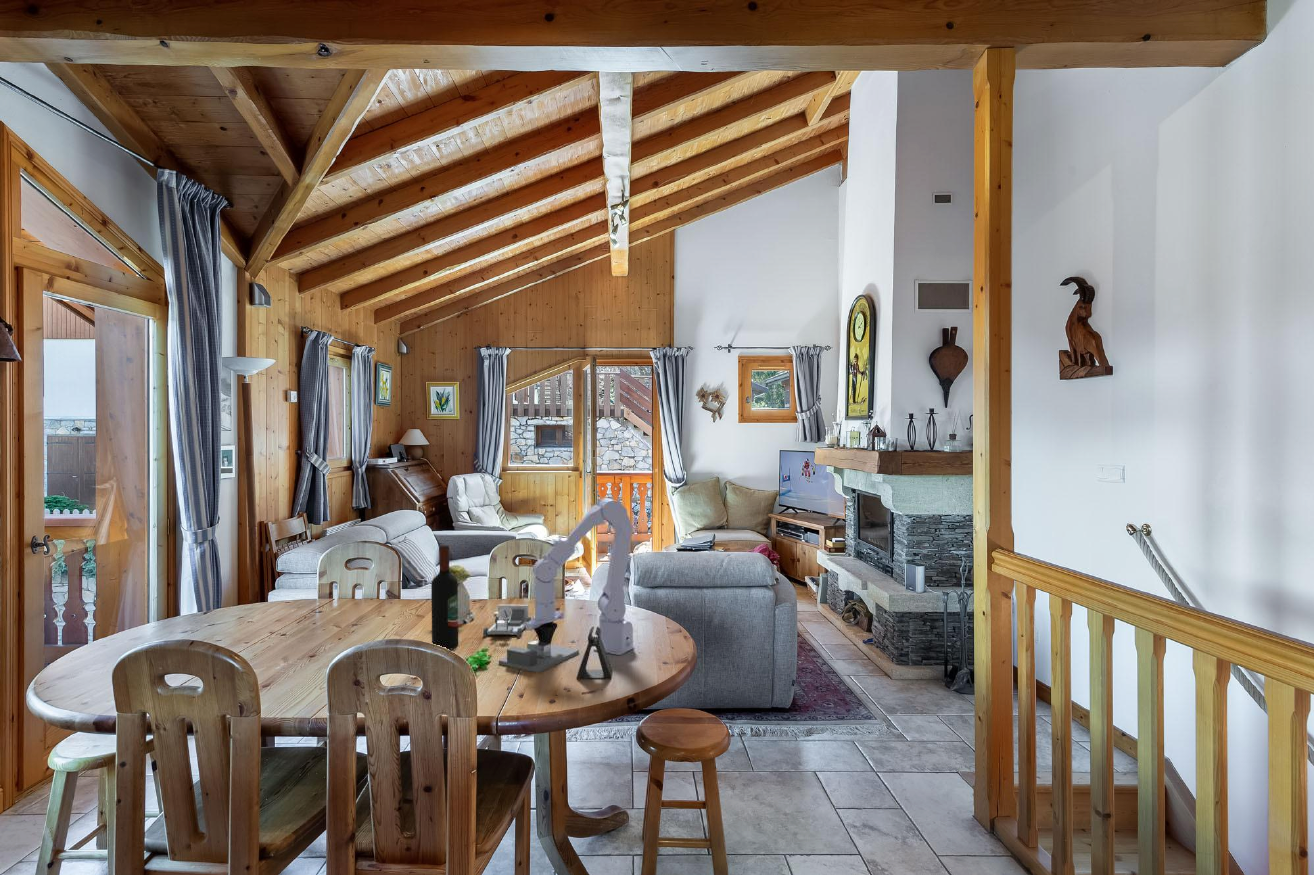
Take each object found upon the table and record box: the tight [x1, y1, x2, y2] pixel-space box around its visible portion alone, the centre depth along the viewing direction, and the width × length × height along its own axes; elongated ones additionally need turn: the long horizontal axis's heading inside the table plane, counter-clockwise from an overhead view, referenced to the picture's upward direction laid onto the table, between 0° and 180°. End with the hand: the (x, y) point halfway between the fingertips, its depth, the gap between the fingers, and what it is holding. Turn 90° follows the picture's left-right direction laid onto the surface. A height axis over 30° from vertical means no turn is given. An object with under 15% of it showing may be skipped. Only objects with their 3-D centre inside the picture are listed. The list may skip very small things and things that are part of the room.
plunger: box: [526, 639, 552, 658], centre depth 196 cm, size 9×3×3 cm, turn 60°
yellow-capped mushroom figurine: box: [449, 565, 476, 626], centre depth 236 cm, size 12×13×18 cm
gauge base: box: [498, 644, 580, 674], centre depth 196 cm, size 14×18×4 cm
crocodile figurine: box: [465, 647, 492, 675], centre depth 187 cm, size 7×18×4 cm, turn 165°
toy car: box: [482, 604, 533, 638], centre depth 222 cm, size 18×10×12 cm
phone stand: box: [576, 626, 613, 680], centre depth 182 cm, size 9×6×12 cm, turn 90°
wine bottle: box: [430, 544, 459, 650], centre depth 207 cm, size 8×8×30 cm
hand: (545, 649), depth 198 cm, fingers closed
